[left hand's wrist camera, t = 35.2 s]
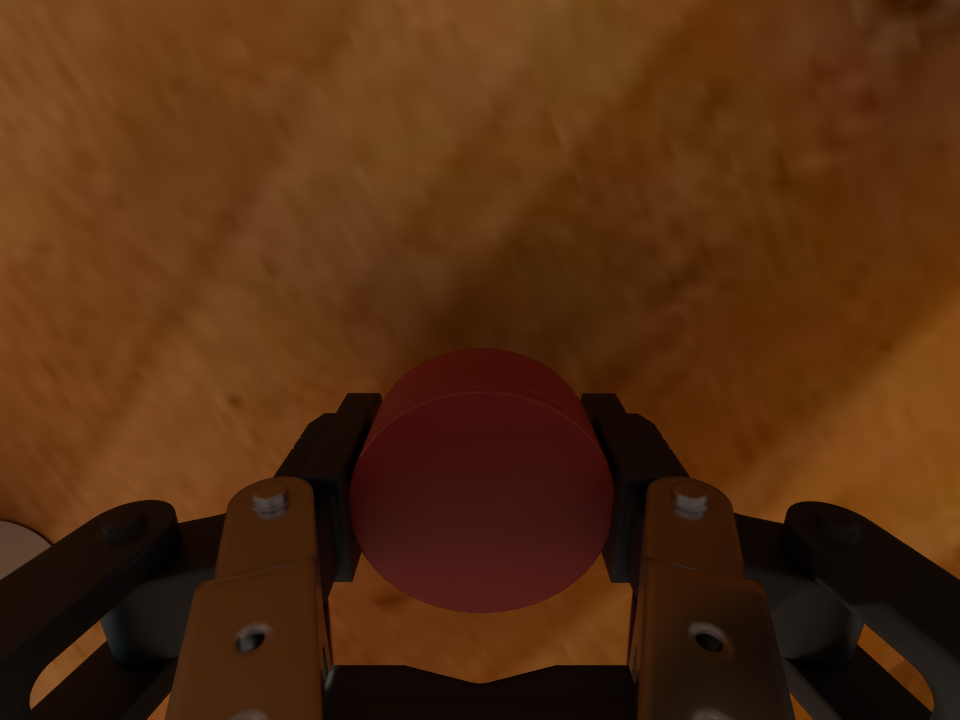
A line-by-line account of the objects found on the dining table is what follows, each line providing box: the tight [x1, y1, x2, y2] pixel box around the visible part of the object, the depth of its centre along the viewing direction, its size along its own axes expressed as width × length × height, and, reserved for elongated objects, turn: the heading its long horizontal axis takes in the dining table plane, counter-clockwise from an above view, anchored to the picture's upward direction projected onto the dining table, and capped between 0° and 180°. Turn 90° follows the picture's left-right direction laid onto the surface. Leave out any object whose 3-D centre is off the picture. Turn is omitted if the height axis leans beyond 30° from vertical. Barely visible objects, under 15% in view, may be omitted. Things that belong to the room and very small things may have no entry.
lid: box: [349, 348, 614, 613], centre depth 10 cm, size 5×5×2 cm
